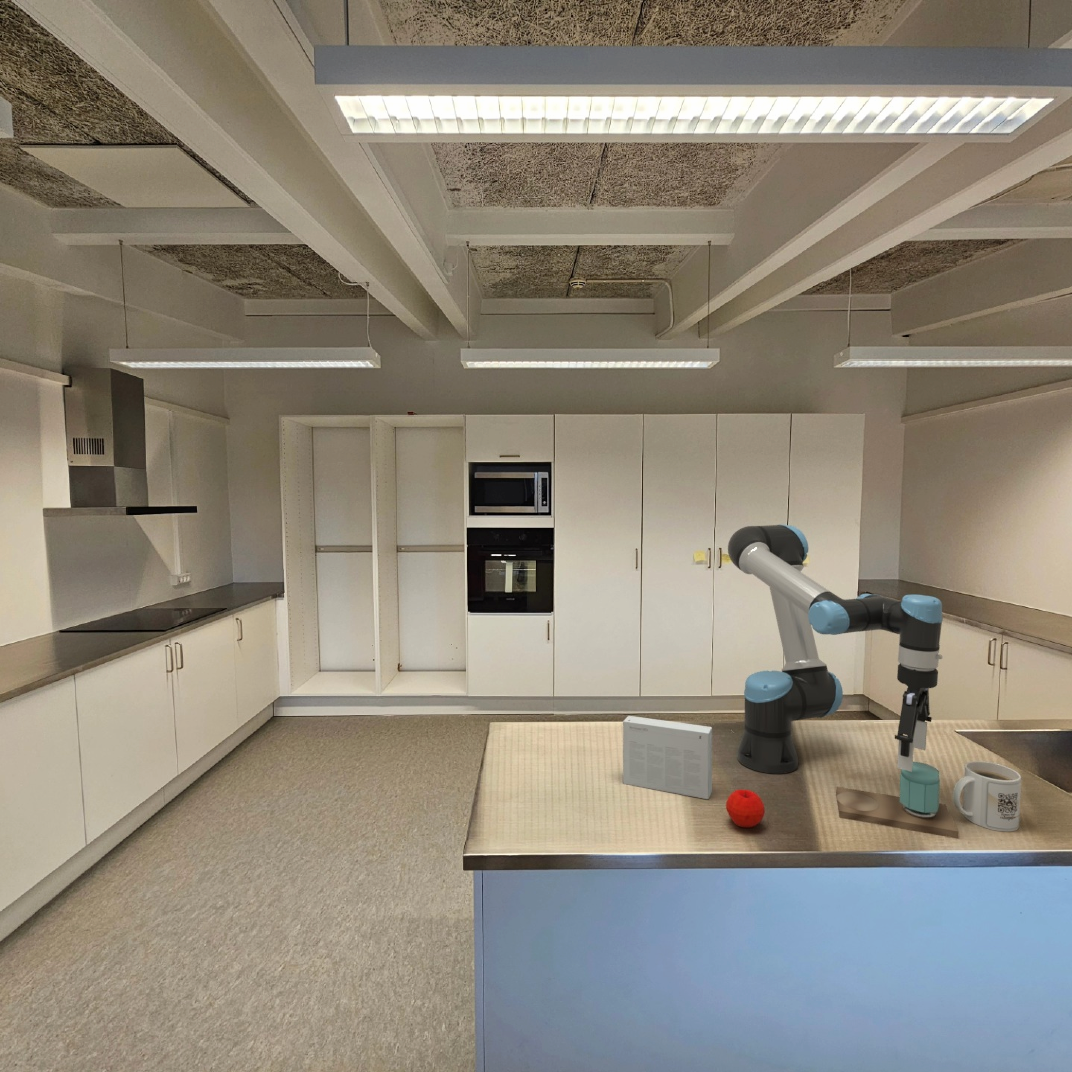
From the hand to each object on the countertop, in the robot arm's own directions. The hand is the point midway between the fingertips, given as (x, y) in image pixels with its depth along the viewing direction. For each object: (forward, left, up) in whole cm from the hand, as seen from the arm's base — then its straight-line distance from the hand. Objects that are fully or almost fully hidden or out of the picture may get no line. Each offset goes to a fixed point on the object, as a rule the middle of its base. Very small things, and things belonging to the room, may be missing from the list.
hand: (911, 758), depth 136 cm
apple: (-34, -20, -12) cm, 41 cm away
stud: (+1, -3, -11) cm, 11 cm away
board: (-4, -3, -12) cm, 13 cm away
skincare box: (-53, -9, -12) cm, 55 cm away
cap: (+1, -3, -9) cm, 9 cm away
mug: (+14, +2, -12) cm, 19 cm away
